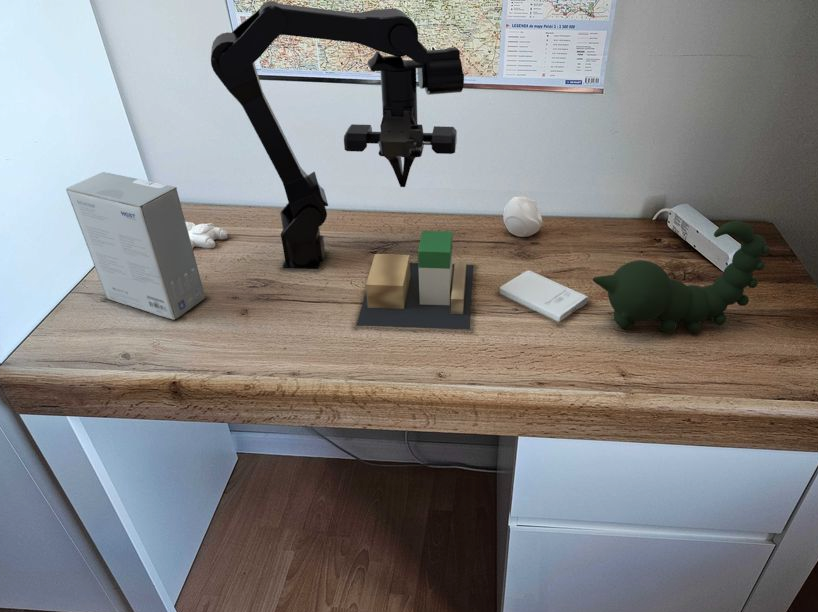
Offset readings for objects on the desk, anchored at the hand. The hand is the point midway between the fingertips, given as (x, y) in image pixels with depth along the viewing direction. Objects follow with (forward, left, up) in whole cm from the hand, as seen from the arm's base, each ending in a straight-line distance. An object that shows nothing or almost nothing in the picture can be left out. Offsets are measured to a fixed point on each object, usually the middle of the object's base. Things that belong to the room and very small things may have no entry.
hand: (403, 186), depth 119 cm
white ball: (+22, +7, -13) cm, 26 cm away
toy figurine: (+44, -22, -13) cm, 51 cm away
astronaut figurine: (-41, +1, -13) cm, 43 cm away
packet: (+4, -16, -12) cm, 20 cm away
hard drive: (+25, -16, -13) cm, 32 cm away
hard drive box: (-40, -20, -13) cm, 46 cm away
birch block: (-1, -16, -12) cm, 20 cm away
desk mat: (+4, -16, -12) cm, 21 cm away
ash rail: (+11, -16, -12) cm, 23 cm away
